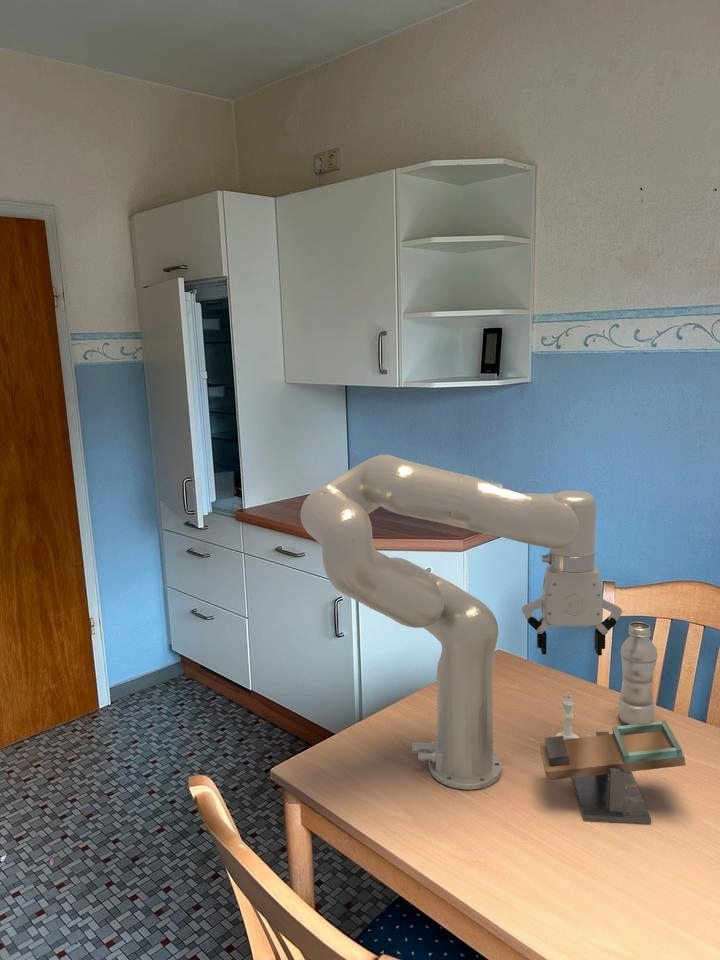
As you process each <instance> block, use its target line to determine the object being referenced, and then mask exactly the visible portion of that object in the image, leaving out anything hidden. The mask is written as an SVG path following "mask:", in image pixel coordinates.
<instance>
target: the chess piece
mask: <svg viewBox="0 0 720 960" xmlns="http://www.w3.org/2000/svg"><path fill="white" fill-rule="evenodd" d="M563 699H564V700H563V701H562V706H563V708H564V711H563V712H562V715H561V716H562V717H564V723H563V724H564V725H563V730H562V731H561V732H558V733H556V734H555V736H554V737H556V736H563V738H564V739H573V738H581V737H579V735H577V734H575V733H573V727H572V718H574V717H575V713H574V712H572V710H573V708H574V707H575V706H574V705H575V702H574V701H573V700H574V695H571V692H570V691H567V693H566V694H563ZM571 699H572V700H571Z"/></svg>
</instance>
